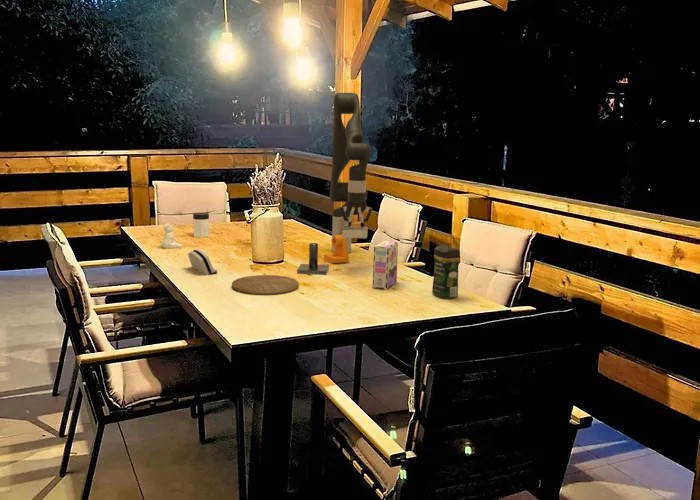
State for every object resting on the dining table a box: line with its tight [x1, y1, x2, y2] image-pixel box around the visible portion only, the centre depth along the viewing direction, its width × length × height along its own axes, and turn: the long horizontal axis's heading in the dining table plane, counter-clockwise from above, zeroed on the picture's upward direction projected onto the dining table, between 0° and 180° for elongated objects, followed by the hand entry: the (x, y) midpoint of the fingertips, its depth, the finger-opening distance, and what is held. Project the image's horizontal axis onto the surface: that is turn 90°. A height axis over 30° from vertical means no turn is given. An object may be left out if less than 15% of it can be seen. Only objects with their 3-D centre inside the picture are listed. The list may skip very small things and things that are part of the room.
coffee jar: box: [431, 244, 461, 300], centre depth 246 cm, size 10×8×19 cm
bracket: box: [323, 235, 350, 264], centre depth 301 cm, size 11×7×12 cm, turn 29°
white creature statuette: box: [160, 222, 182, 250], centre depth 323 cm, size 10×9×12 cm
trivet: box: [231, 274, 300, 296], centre depth 255 cm, size 25×25×2 cm
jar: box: [192, 212, 210, 238], centre depth 355 cm, size 9×8×12 cm
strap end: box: [342, 220, 368, 239], centre depth 283 cm, size 17×10×4 cm, turn 177°
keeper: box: [296, 242, 330, 275], centre depth 282 cm, size 12×12×12 cm
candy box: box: [372, 240, 399, 290], centre depth 260 cm, size 14×6×16 cm, turn 160°
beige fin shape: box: [187, 248, 219, 276], centre depth 278 cm, size 17×5×10 cm, turn 33°
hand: (355, 230), depth 288 cm, fingers closed on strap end, 4 cm apart
